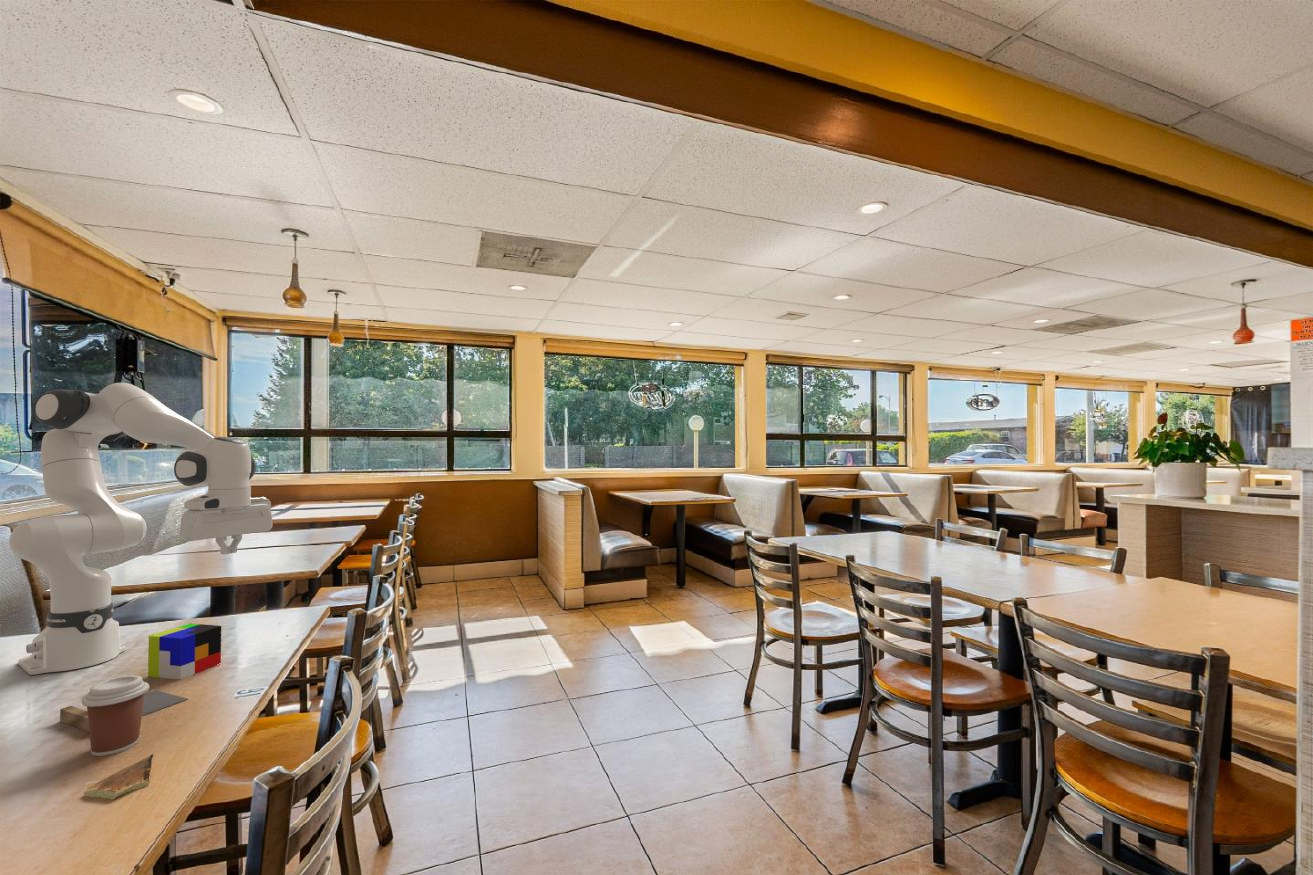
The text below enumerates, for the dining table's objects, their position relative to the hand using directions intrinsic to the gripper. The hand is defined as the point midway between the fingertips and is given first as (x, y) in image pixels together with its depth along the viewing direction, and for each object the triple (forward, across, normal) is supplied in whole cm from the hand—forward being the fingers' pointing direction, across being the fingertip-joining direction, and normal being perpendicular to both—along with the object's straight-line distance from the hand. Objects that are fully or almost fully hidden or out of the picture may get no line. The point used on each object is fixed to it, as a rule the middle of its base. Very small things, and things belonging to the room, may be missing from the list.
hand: (228, 553), depth 142 cm
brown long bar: (+29, +30, +6) cm, 42 cm away
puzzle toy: (+30, +5, -8) cm, 31 cm away
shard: (+30, +38, +37) cm, 61 cm away
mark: (+29, +21, +6) cm, 36 cm away
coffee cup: (+29, +32, +22) cm, 49 cm away
